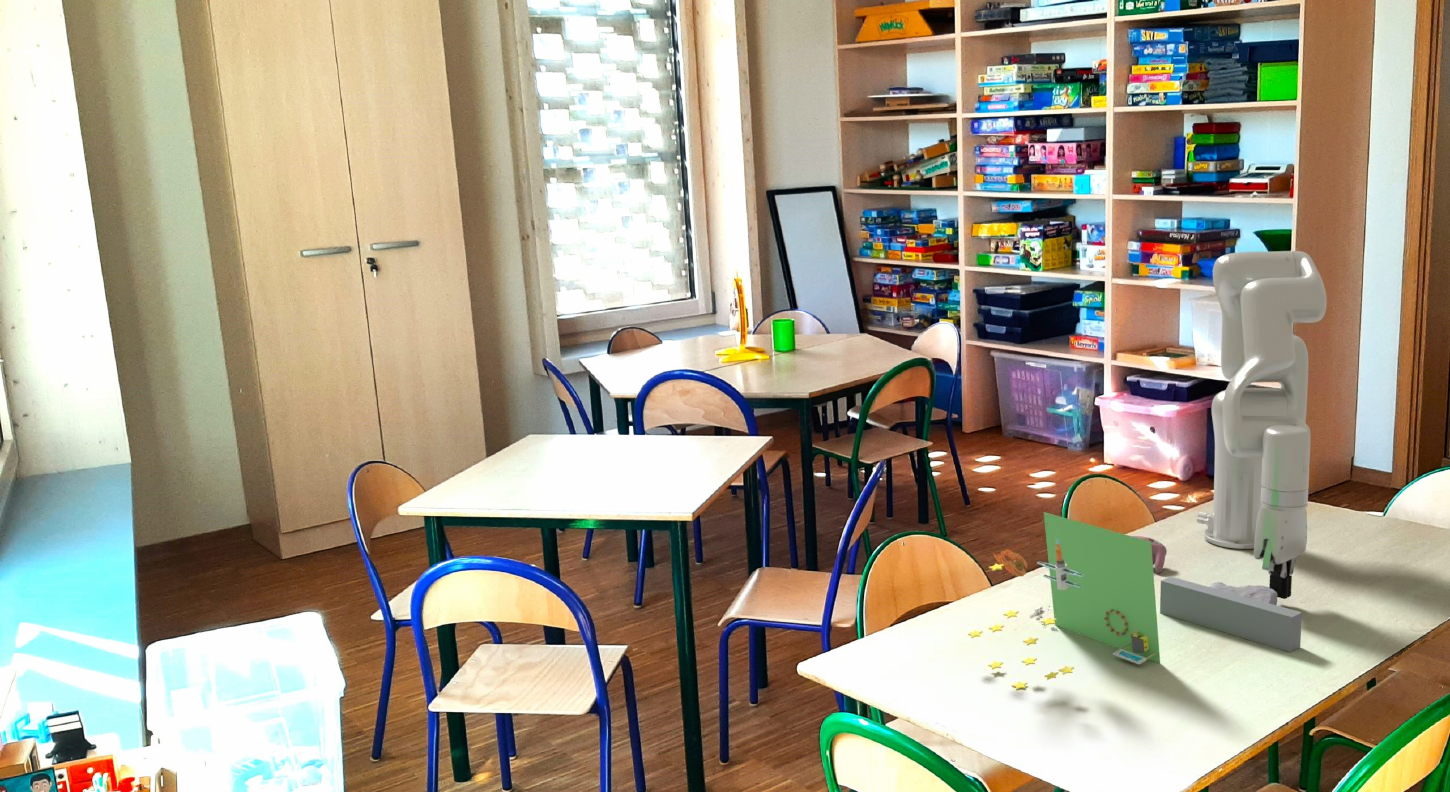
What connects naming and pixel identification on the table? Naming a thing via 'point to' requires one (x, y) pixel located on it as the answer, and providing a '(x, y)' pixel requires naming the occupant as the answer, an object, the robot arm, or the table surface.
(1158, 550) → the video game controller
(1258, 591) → the stone block
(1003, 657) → the table surface
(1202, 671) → the table surface
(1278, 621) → the board
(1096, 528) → the toy game set
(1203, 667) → the table surface
